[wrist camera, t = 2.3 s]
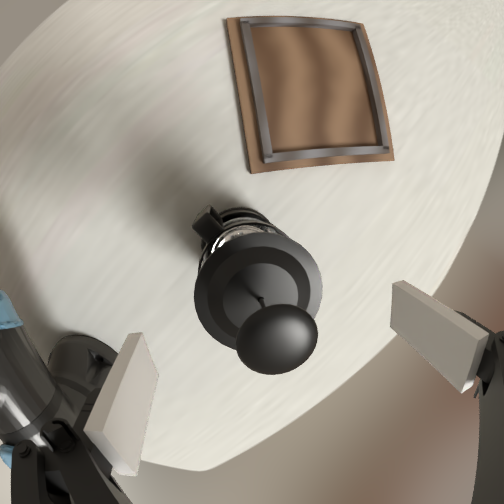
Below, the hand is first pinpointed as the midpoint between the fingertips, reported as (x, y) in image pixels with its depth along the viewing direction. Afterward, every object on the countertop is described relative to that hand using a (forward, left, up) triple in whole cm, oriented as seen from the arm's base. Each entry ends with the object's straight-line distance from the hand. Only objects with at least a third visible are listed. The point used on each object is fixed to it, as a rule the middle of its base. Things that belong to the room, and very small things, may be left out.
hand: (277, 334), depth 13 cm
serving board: (+13, +19, -23) cm, 32 cm away
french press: (0, 0, -23) cm, 23 cm away
